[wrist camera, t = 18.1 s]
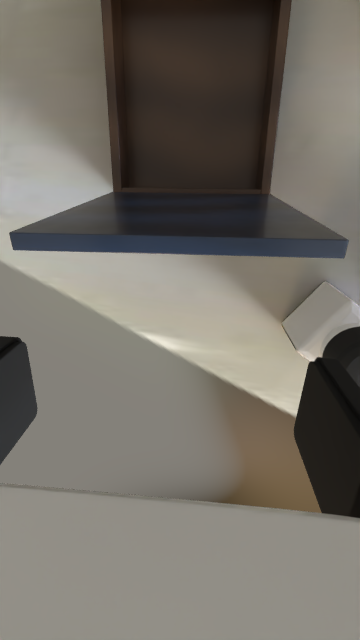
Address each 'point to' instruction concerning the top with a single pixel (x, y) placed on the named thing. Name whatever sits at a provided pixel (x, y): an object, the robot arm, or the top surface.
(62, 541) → the robot arm
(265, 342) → the top surface
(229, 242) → the lid
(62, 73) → the top surface
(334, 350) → the medicine bottle
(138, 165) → the brown tray
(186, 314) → the top surface
